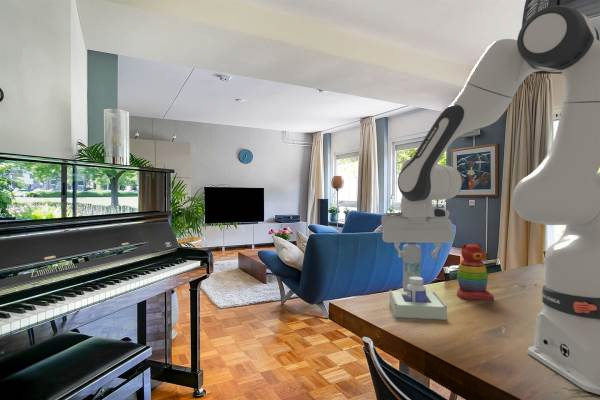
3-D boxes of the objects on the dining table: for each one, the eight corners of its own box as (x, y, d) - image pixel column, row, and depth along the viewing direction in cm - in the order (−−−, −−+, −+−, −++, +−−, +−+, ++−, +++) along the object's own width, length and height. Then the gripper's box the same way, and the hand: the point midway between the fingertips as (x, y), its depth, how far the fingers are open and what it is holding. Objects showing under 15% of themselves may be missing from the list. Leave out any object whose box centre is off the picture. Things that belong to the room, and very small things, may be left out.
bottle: (407, 288, 123) (407, 235, 123) (425, 292, 118) (424, 236, 118) (398, 292, 118) (398, 236, 118) (416, 296, 114) (416, 238, 114)
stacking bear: (461, 299, 110) (461, 246, 110) (451, 291, 120) (451, 242, 120) (496, 300, 109) (496, 246, 108) (482, 292, 119) (482, 242, 119)
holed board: (447, 319, 92) (447, 306, 92) (395, 317, 94) (395, 303, 94) (434, 303, 106) (434, 291, 106) (389, 301, 108) (389, 290, 108)
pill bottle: (427, 309, 101) (427, 277, 101) (423, 314, 96) (423, 281, 96) (409, 306, 104) (409, 275, 104) (404, 311, 99) (404, 278, 99)
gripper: (381, 212, 99) (382, 258, 98) (454, 211, 95) (456, 259, 95) (380, 211, 105) (381, 255, 104) (448, 211, 101) (450, 256, 101)
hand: (417, 257), depth 99 cm, fingers open, 8 cm apart
